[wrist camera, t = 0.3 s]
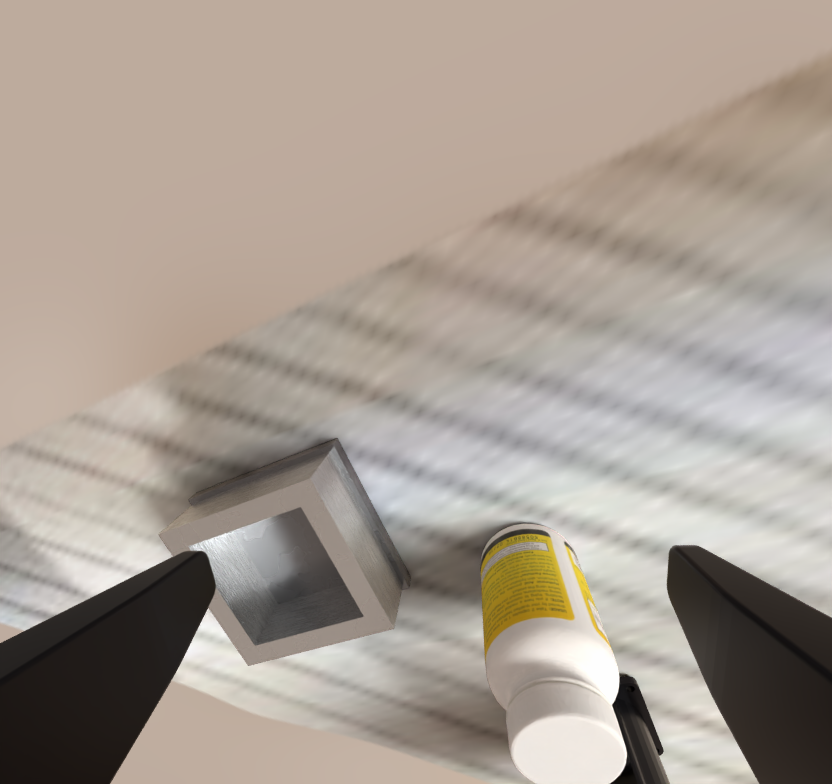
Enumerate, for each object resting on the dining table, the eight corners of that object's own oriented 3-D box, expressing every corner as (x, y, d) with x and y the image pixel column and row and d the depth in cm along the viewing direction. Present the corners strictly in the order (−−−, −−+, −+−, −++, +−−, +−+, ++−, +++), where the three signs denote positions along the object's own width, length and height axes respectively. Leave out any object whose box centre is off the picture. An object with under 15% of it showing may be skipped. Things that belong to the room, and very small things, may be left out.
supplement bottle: (462, 569, 24) (460, 760, 15) (514, 503, 22) (549, 673, 13) (538, 612, 24) (583, 827, 15) (595, 551, 23) (687, 750, 13)
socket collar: (411, 578, 25) (401, 631, 21) (276, 616, 27) (246, 670, 23) (337, 438, 22) (312, 470, 19) (196, 492, 25) (150, 531, 21)
